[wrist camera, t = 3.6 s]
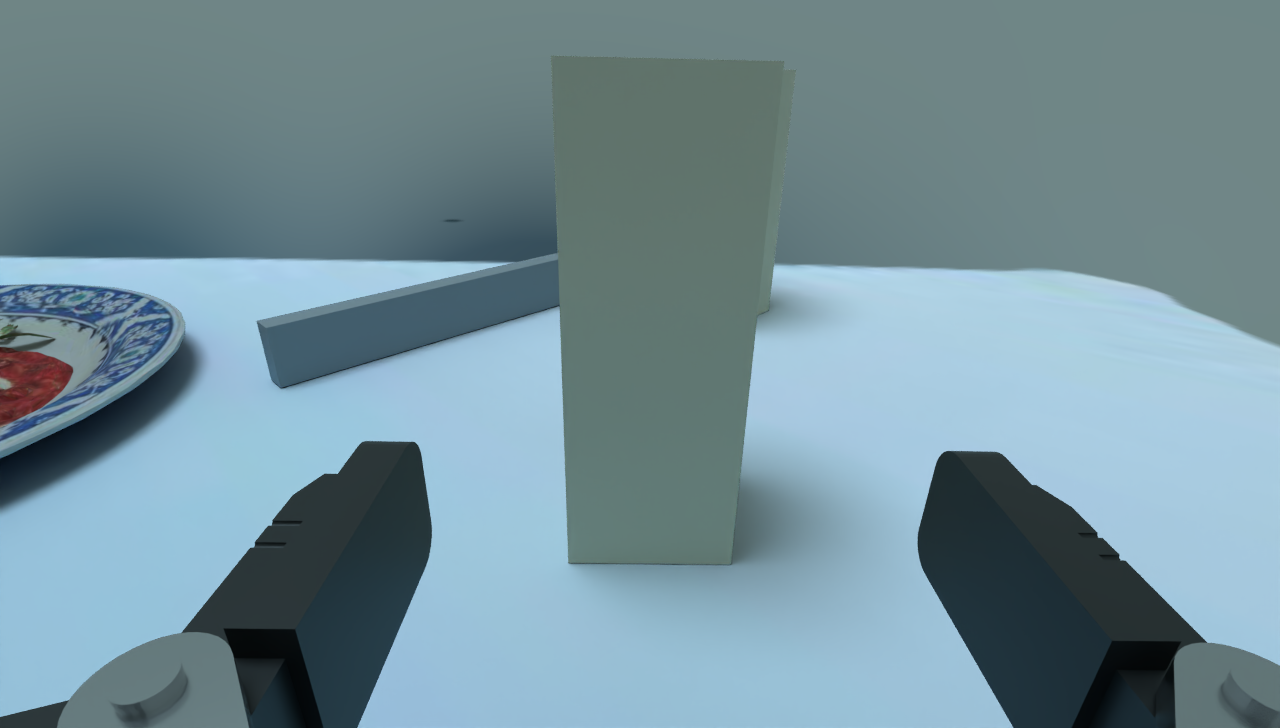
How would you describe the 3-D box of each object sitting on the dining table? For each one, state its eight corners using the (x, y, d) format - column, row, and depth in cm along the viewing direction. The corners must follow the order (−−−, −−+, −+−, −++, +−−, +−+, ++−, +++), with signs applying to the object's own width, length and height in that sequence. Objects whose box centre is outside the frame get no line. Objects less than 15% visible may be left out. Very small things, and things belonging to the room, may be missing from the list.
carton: (730, 564, 19) (784, 61, 14) (568, 562, 19) (551, 55, 13) (711, 468, 24) (745, 64, 18) (581, 466, 24) (572, 60, 18)
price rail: (280, 388, 29) (266, 327, 28) (269, 378, 30) (254, 319, 29) (636, 281, 45) (637, 240, 44) (622, 277, 46) (623, 236, 45)
